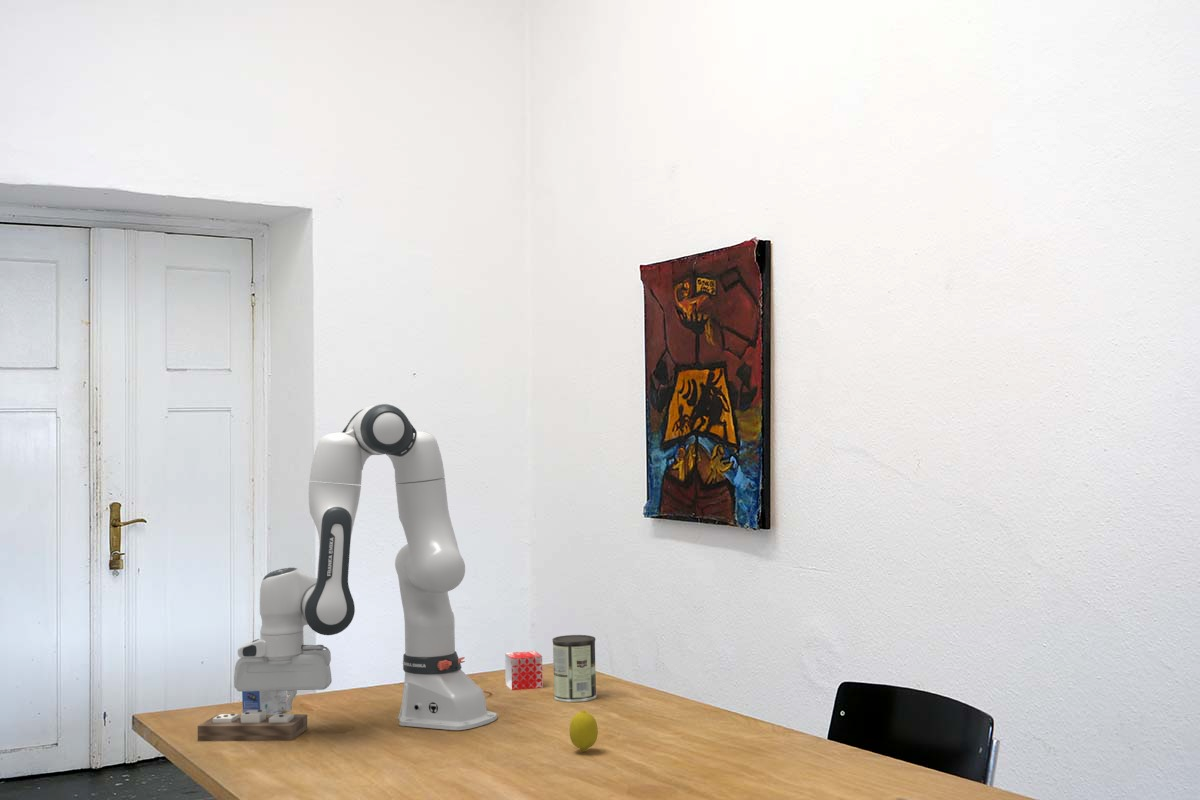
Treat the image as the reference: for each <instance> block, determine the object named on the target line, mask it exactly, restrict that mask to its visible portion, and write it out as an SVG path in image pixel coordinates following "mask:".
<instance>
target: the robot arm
mask: <svg viewBox="0 0 1200 800" xmlns="http://www.w3.org/2000/svg"><path fill="white" fill-rule="evenodd" d="M440 450H441V449H440V447H439V444H438V441H437V439H436V437H435V436H434V435H433V434H431V433H429V432H426V431H422V430H416V428H415V427H414V425H413V424H412V422H411V421H410V420H409V418H408V416H407V415H406V413H404V412H403V411H402V409H400V407H399V408H398V407H396V406H394V405H392V404H389V403H385V404H384V403H382V404H380V403H379V404H378V403H377V404H372V405H369V406H366V407H364V408H362V409H360V410H358V411H357V412H356V413H355V414H354V415H353V416H352V418H350V420H349V422H348V423H347V425H346V426H345V427H344V429H343V430H342V431H341V432H340V431H339V432H330V433H328V434H324V435H323V436H321V437H320V439H319V440H318V442H317V444H316V448H315V451H314V454H313V458H312V464H311V467H310V472H309V473H310V474H309V482H308V507H309V514H310V516H311V518H312V520H313V523H314V525H315V527H316V530H317V533H318V540H319V542H318V543H319V544H318V545H319V549H318V562H317V576H316V577H315V576H312V575H308V574H307V573H305V572H303V571H301V570H299V569H298V568H297V567H287V568H285V567H284V568H279V569H277V570H272V571H271V572H269V573H267V574H266V575H265V576H264V577H263V578H262V580H261V583H260V588H259V589H260V590H259V615H260V617H261V627H260V630H259V631H260V635H259V636H260V638H257V639H254V640H253V641H250V642H248V643H245V644H243V645H241V646H240V647H239V648H238V649H237V656H238V657H239V658H238V659H237V661H236V662H235V665H234V674H233V685H234V689H235V690H236V691H237V692H239V693H240V692H241V693H242V691H270V697H271V698H272V700H273V701H274V703H275V704H276V712H283V713H285V712H286V713H289V712H292V710H293V701H294V699H295V697H296V696H297V694H298V691H319V690H321V691H322V690H326V689H327V688H328V687H330V685H331V684H332V672H331V671H332V670H331V665H330V664H331V661H332V656H331V650H330V649H329V648H328V647H327V646H325V645H324V644H315V645H314V644H304V639H305V638H304V626H306V625H308V626H309V628H311V630H312V631H314V632H315V633H317V634H319V635H323V636H333V635H337V634H340V633H342V632H343V631H344V630H346V629H347V628H348V627H349V626H350V625H351V623H352V621H353V619H354V616H355V612H356V609H355V602H354V598H353V595H352V593H351V591H350V587H349V571H350V569H349V568H350V567H349V566H350V553H351V542H352V540H351V538H352V533H353V529H354V524H355V519H356V516H357V511H358V507H359V503H360V496H361V490H362V475H363V469H364V466H365V464H366V461H367V460H368V459H369V458H370V457H372V456H382V455H386V456H387V457H388V458H389V460H390V461H391V463H392V466H393V469H394V482H395V492H396V502H397V509H398V510H397V511H398V518H399V521H400V524H401V525H402V528H403V532H404V535H405V538H406V543H407V544H405V545H403V546H402V547H401V548H400V549H399V550H398V552H397V554H396V556H395V560H394V566H395V571H396V573H397V577H398V583H399V586H398V587H399V592H400V599H401V604H402V608H403V618H404V646H405V647H404V654H403V656H402V658H403V659H402V670H403V671H404V681H403V690H402V699H401V704H400V705H401V706H400V709H399V710H400V711H399V713H398V716H397V719H398V721H399V722H398V724H399V725H398V726H400V727H405V726H406V727H413V728H414V727H415V728H426V729H438V730H447V731H464V730H468V729H474V728H477V727H481V726H485V725H488V724H490V723H492V722H494V721H496V720H497V719H498V713H497V712H493V711H490V710H487V701H486V696H485V692H484V691H483V689H482V688H481V687H480V686H478V685H477V684H476V683H475V682H474V681H473V679H471V678H470V677H469V676H468V675H467V674H466V673H465V672H464V671H463V670H462V663H465V662H466V661H465V660H464V659H465V656H464V657H459V656H458V653H457V651H456V649H455V648H456V640H455V639H456V637H455V635H456V634H455V625H456V624H455V623H456V622H455V615H454V612H453V610H452V606H451V603H450V599H449V598H450V597H449V593H448V592H450V591H452V590H454V589H456V588H457V587H458V586H459V585H460V584H461V582H462V581H463V580H464V578H465V574H466V564H465V561H464V558H463V557H462V555H461V552H460V550H459V547H458V541H457V538H456V535H455V532H454V527H453V524H452V521H451V517H450V511H449V505H448V495H447V494H448V493H447V487H446V478H445V468H444V464H443V459H442V454H441V451H440ZM284 690H286V693H287V696H288V697H287V702H281V700H280V698H279V696H278V694H279V693H280V691H284Z"/></svg>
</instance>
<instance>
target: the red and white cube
mask: <svg viewBox="0 0 1200 800" xmlns="http://www.w3.org/2000/svg"><path fill="white" fill-rule="evenodd" d="M504 658H505V659H504V664H505V666H504V667H505V669H504V670H505V672H504V673H505V676H504V677H505V685H506V686H507V687H508V688H509V689H510V690H511V691H521V690H534V689H535V690H536V689H543V688H544V679H543V674H544V673H543V670H544V669H543V655H542V654H540V653H539V652H538V651H536V650H529V651H517V652H516V651H515V652H505V653H504Z"/></svg>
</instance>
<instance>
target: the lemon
mask: <svg viewBox="0 0 1200 800" xmlns="http://www.w3.org/2000/svg"><path fill="white" fill-rule="evenodd" d="M598 731H599V729H598V723H597V721H596V719H595V717H594V716H593V715H592V713H589V712H588V711H586V710H585V709H583V710H580V711H579V712H578V713H575V715H574V716H573V717H572V718H571V721H570V724H569V738H570V741H571V743H572V744H573V745H574V746H575V747H576V748H578V749H579V750H581V752H583V753H584V752H586V751H587V750H588V749H590V748H591V747H593V746H594V745H595V743H596V742H597V740H598V735H599V734H598Z"/></svg>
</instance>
